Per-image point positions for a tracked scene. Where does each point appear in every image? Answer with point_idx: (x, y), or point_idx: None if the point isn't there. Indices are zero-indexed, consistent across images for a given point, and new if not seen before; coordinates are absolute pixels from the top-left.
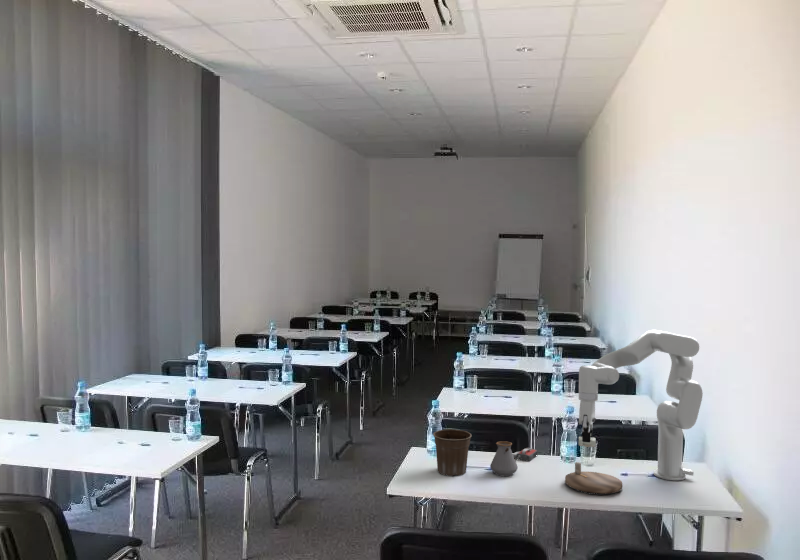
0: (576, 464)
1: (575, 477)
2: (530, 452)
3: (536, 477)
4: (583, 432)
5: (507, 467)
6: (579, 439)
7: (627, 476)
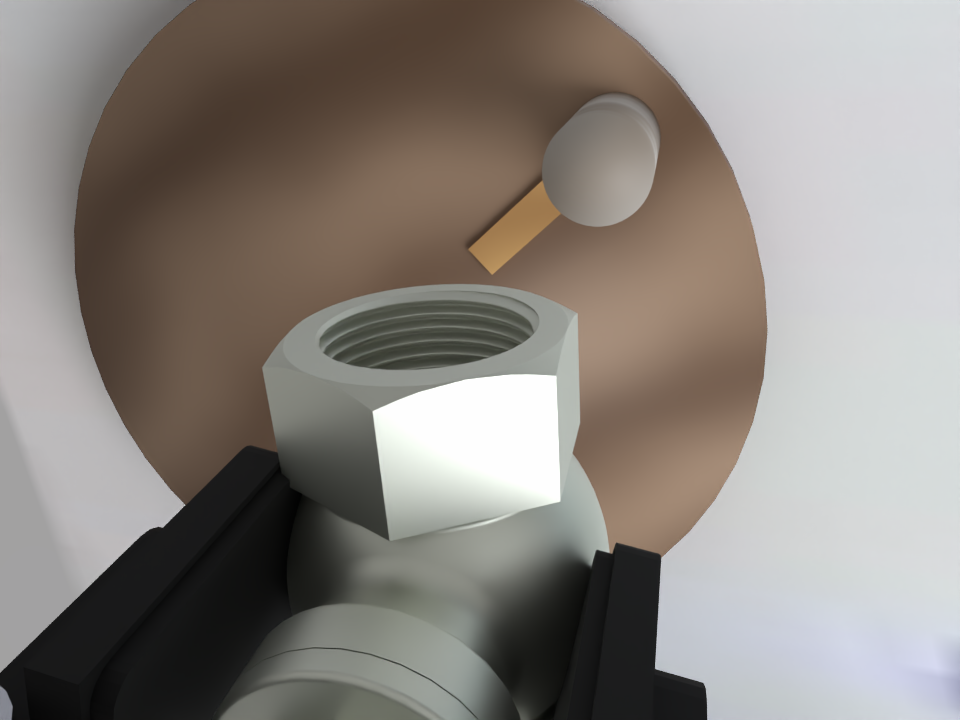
0: (553, 138)
1: (409, 107)
2: None
3: None
4: (42, 691)
5: None
6: (278, 379)
7: (931, 705)
